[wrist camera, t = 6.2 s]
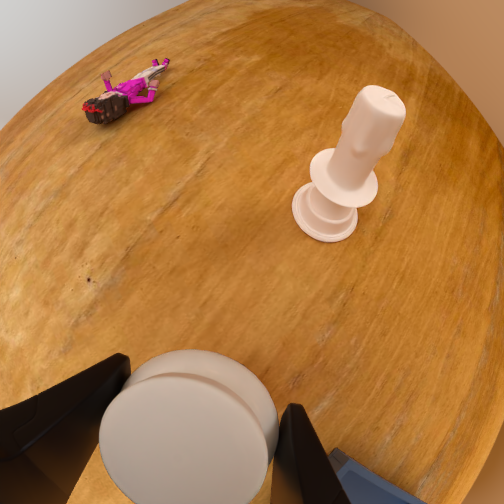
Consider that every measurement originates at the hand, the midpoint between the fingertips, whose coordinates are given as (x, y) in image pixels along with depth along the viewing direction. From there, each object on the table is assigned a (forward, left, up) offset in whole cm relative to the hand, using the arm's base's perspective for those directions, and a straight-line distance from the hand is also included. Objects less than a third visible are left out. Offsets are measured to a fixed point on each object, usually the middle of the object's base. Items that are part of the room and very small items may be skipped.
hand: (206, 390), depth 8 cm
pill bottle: (-1, -1, -7) cm, 7 cm away
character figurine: (+12, +25, -10) cm, 30 cm away
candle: (+14, +2, -10) cm, 17 cm away
